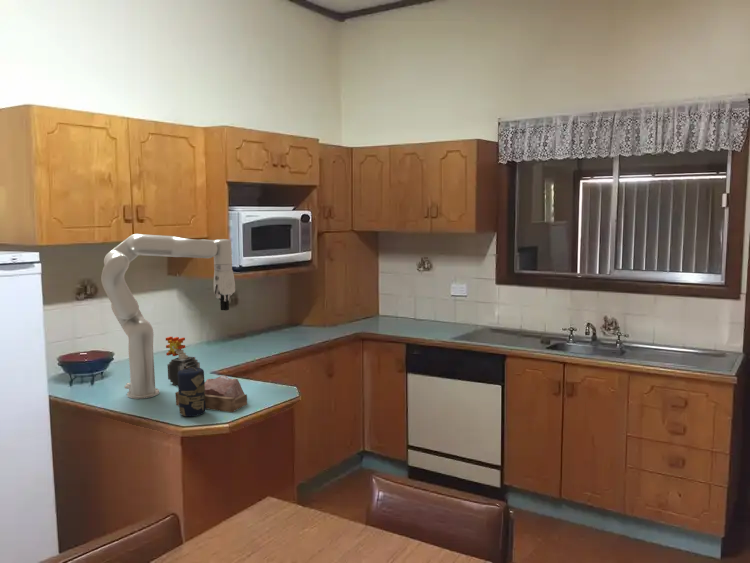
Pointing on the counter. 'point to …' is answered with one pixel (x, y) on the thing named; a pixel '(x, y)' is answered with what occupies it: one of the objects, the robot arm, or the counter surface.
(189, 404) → the canister
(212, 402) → the stop cradle
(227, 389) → the stone
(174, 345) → the bomb
